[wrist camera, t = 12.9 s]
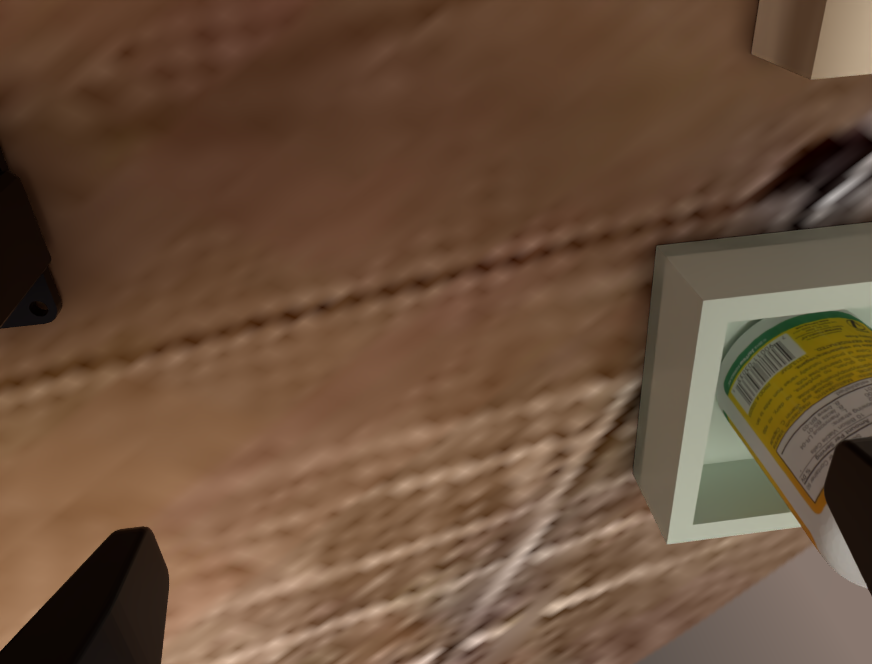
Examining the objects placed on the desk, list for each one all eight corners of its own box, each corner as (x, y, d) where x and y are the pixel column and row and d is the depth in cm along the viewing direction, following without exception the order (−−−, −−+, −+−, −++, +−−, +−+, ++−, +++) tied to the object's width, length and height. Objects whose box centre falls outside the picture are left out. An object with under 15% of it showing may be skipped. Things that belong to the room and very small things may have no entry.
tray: (632, 473, 28) (667, 544, 25) (656, 245, 23) (703, 300, 20) (874, 442, 28) (936, 509, 25) (951, 213, 23) (1040, 262, 20)
